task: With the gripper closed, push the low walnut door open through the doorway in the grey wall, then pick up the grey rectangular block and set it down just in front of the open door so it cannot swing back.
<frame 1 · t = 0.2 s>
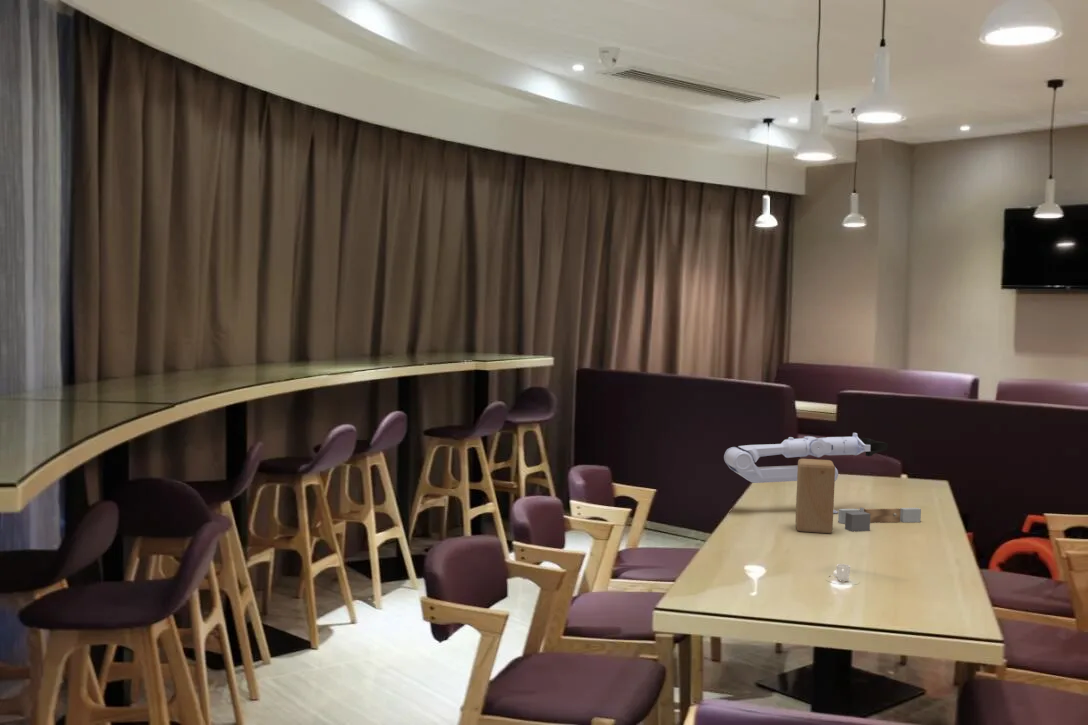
hand: (881, 444, 321), 21 cm above the table, tool horizontal, fingers open, 7 cm apart
wooden block: (813, 530, 293), on the table
teacup and saucer: (853, 582, 240), on the table
door: (882, 515, 305), point 2 cm above the table, hinge at 0.0°
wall: (877, 525, 300), on the table
grey rectangular block: (857, 530, 294), on the table
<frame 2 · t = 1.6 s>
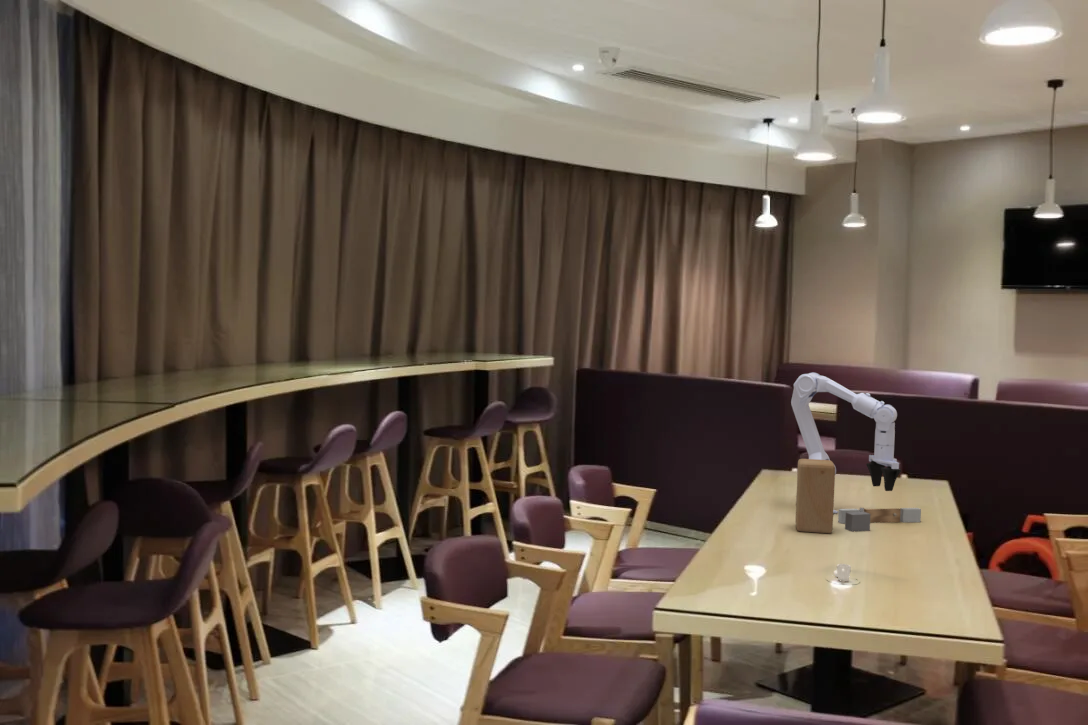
hand: (882, 488, 309), 9 cm above the table, tool pointing down, fingers open, 7 cm apart
nothing on the table moved.
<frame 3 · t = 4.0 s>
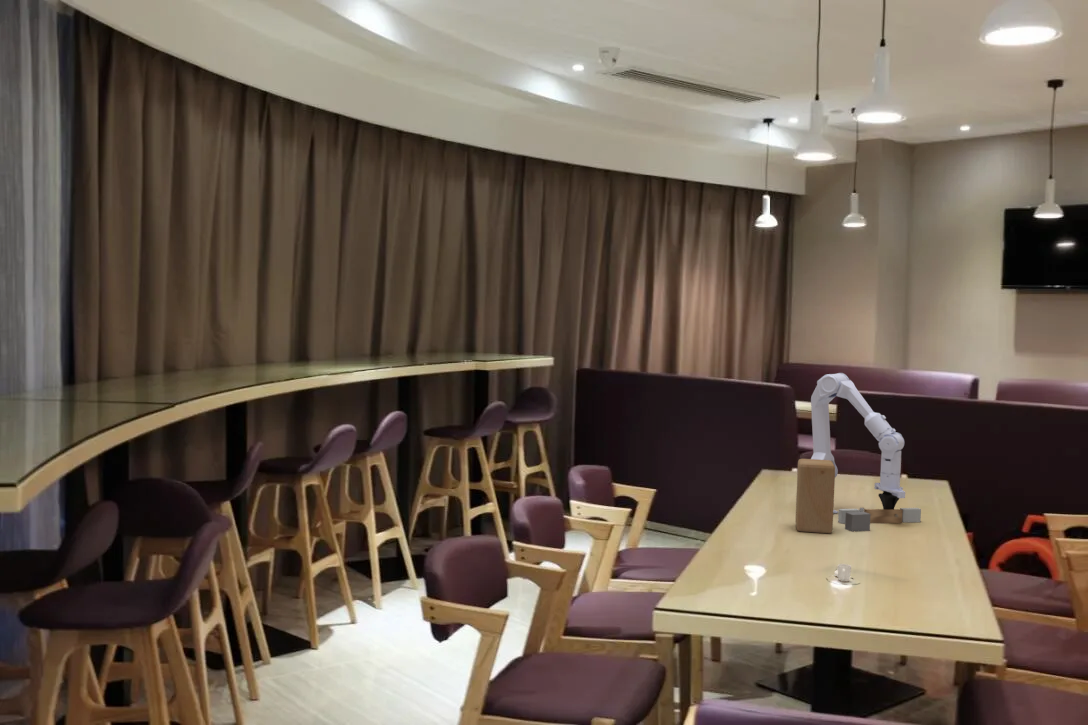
hand: (888, 517, 306), 1 cm above the table, tool pointing down, fingers closed, pressing on door
door: (883, 516, 304), point 2 cm above the table, hinge at 6.4°, touching gripper
everything else where it was.
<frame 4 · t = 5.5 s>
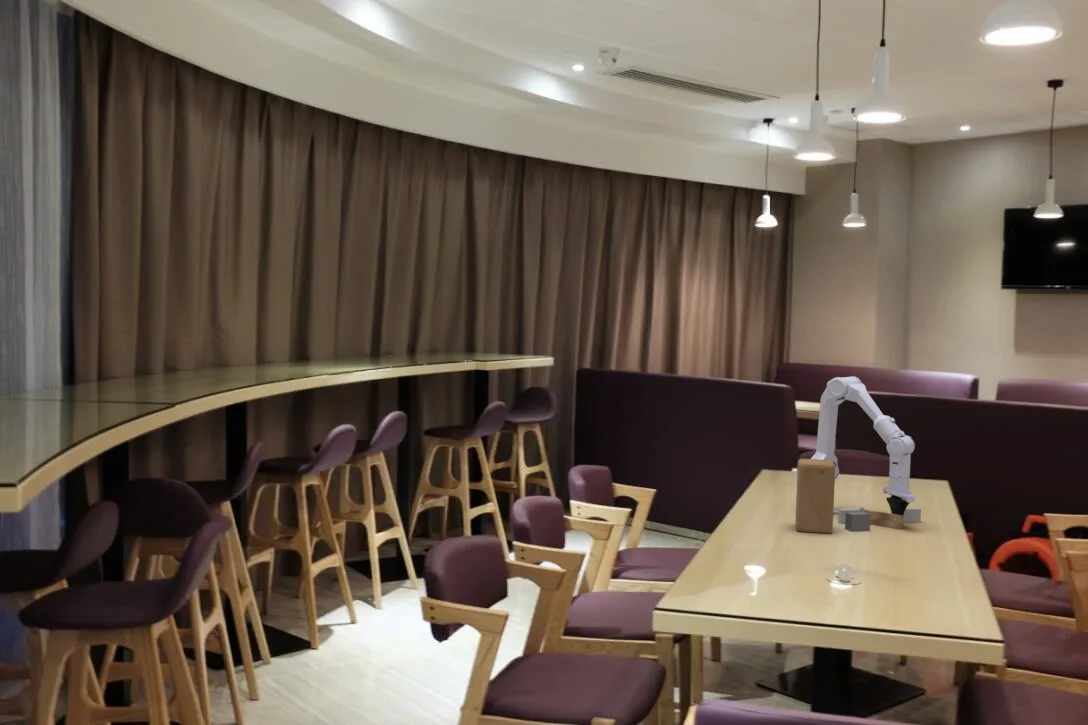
hand: (897, 521, 299), 1 cm above the table, tool pointing down, fingers closed
door: (883, 519, 299), point 2 cm above the table, hinge at 48.8°, touching gripper
everything else where it was.
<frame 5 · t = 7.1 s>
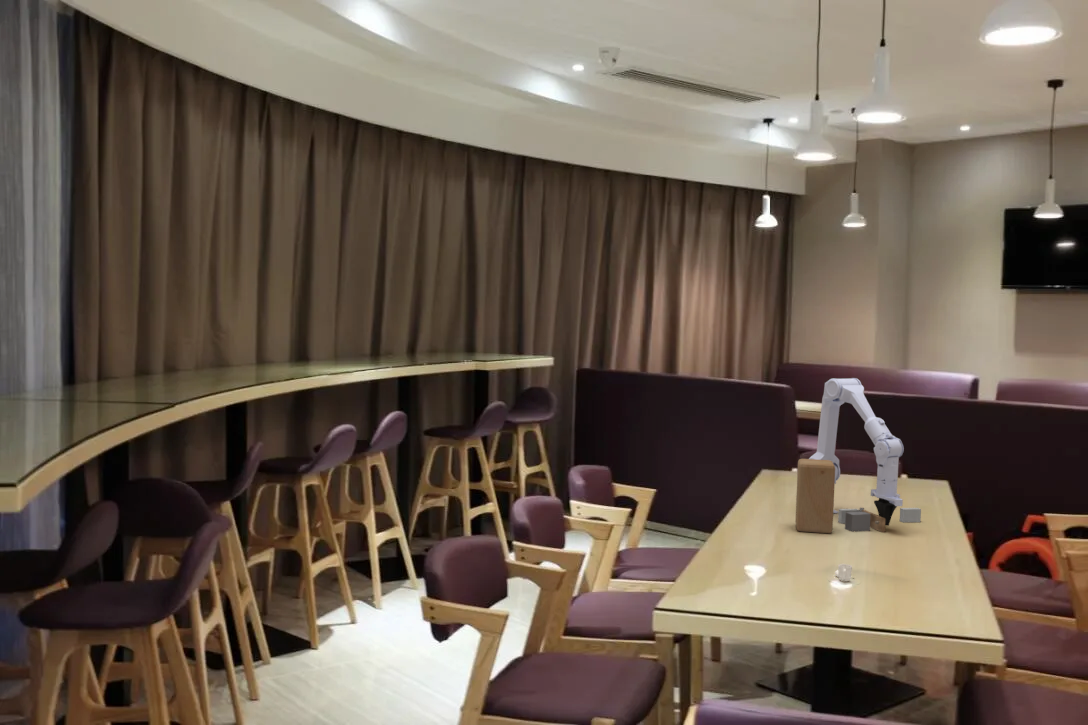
hand: (884, 525, 295), 1 cm above the table, tool pointing down, fingers closed, pressing on door
door: (871, 520, 297), point 2 cm above the table, hinge at 88.6°, touching gripper
everything else where it was.
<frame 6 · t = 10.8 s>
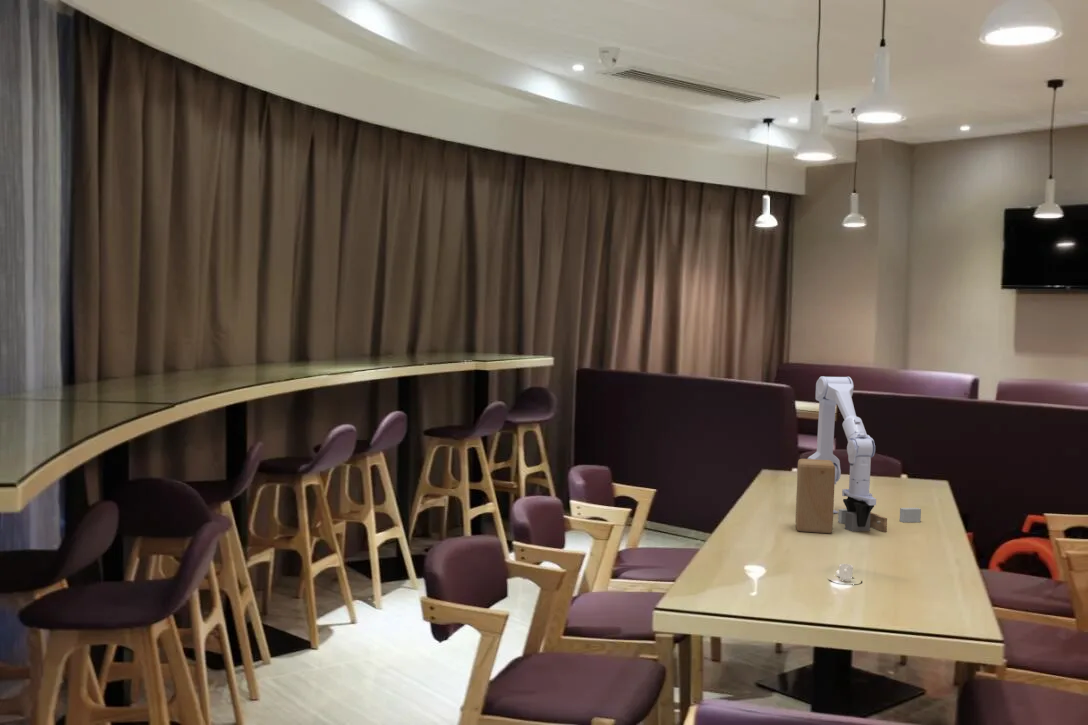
hand: (857, 524, 294), 1 cm above the table, tool pointing down, fingers closed on grey rectangular block, 3 cm apart
door: (872, 520, 297), point 2 cm above the table, hinge at 86.0°
grey rectangular block: (857, 529, 294), on the table, touching gripper
everything else where it was.
when the fingers open (3 cm above the table, at t = 14.0 s): grey rectangular block stays where it is, on the table.
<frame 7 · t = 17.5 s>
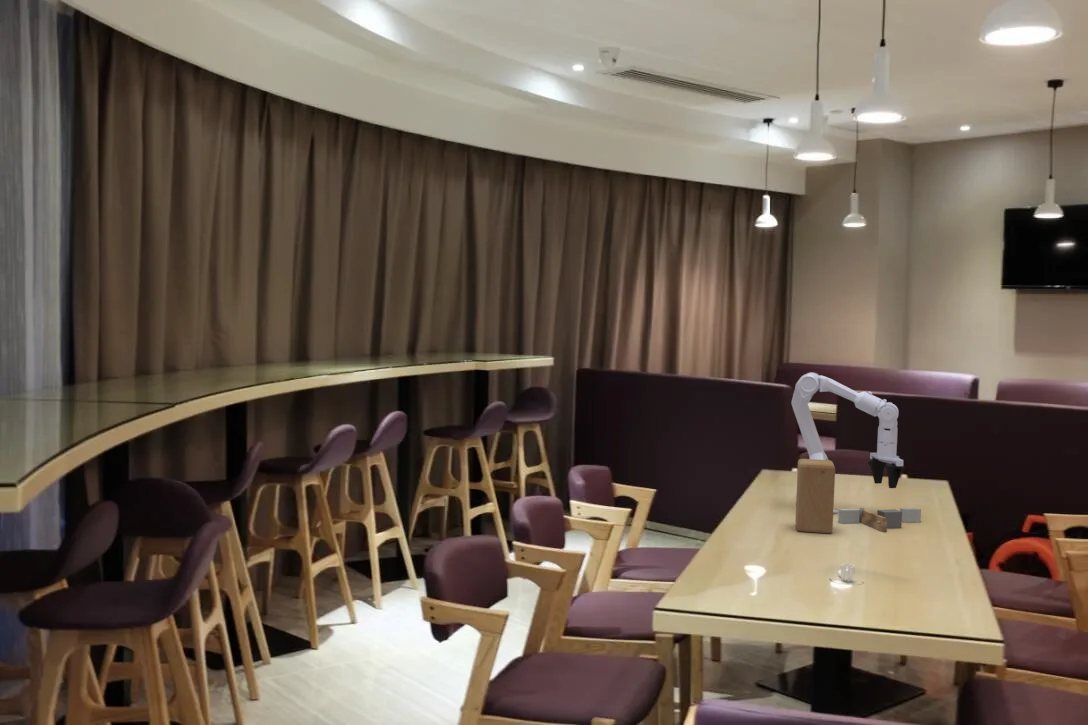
hand: (885, 485, 312), 10 cm above the table, tool pointing down, fingers open, 7 cm apart
grey rectangular block: (889, 527, 298), on the table
at the end: door at +86° (first picture: +0°); grey rectangular block 0.7 cm from the target spot on the table beside the door, on the table; grey rectangular block tilted 0° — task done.
